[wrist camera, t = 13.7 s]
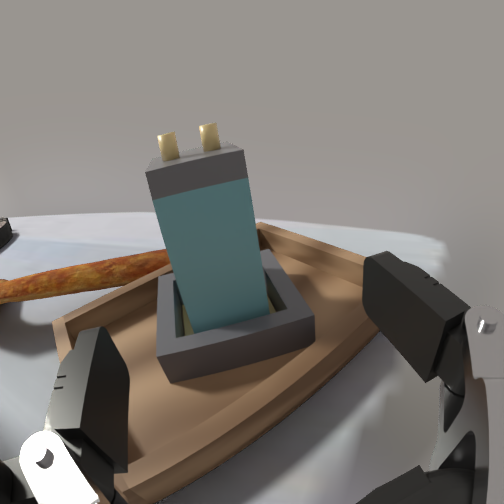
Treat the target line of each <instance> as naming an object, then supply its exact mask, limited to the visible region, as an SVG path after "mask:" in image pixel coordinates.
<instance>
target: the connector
mask: <svg viewBox="0 0 504 504" xmlns="http://www.w3.org/2000/svg"><path fill="white" fill-rule="evenodd" d="M199 129H200V135H201V140H202V145H203V147H200V148H195V149H191V150H187V151H182V152H179V151H178V146H177V141H176V137H175V132H171V133H167V134H163V135H159V136H157V137H158V141H159V146H160V151H161V155H162V157H158V158H154V159H152V161H151V163H150V164H149V166H148V168H147V171H146V172H145V173H146V177H147V181H148V184H149V189H150V192H151V196H152V200H153V204H154V207H155V211H156V215H157V219H158V222H159V226H160V229H161V233H162V236H163V240H164V243H165V246H166V250H167V253H168V256H169V260H170V263H171V266H172V269H173V272H174V276H175V279H176V282H177V285H178V288H179V291H180V294H181V297H182V300H183V303H184V306H185V309H186V312H187V315H188V318H189V320H190V323H191V326H192V329H193V332H194V334H196V333H200V332H204V331H208V330H212V329H216V328H220V327H224V326H228V325H232V324H235V323H239V322H243V321H247V320H250V319H254V318H258V317H261V316H265V315H268V314H270V312H269V305H268V299H267V292H266V286H265V280H264V273H263V267H262V261H261V255H260V248H259V242H258V236H257V230H256V223H255V217H254V211H253V205H252V199H251V193H250V187H249V180H248V175H247V168H246V162H245V156H244V150H243V149H241V148H239V147H237V146H235V145H233V144H231V143H229V142H223V143H220V141H219V135H218V130H217V124H216V123H212V124H207V125H202V126H199Z"/></svg>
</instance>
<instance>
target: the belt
mask: <svg viewBox="0 0 504 504" xmlns="http://www.w3.org/2000/svg"><path fill="white" fill-rule="evenodd" d="M11 231H12V229H11V226H10V223H9V221H8V218H4V217H0V249H1V248H2V247H3V246H4V245H5V244H6V243H7V242H8V241H9V240H10V239H11V238H12V232H11Z"/></svg>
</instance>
